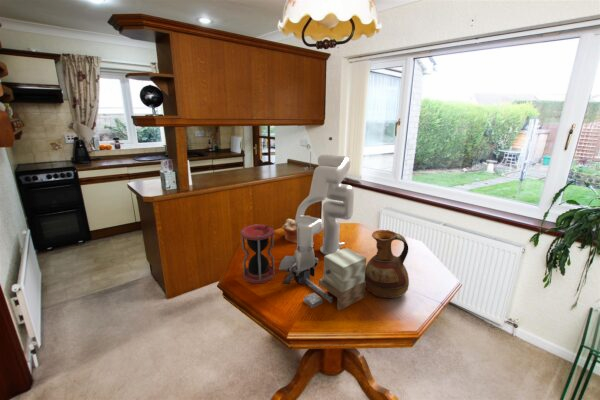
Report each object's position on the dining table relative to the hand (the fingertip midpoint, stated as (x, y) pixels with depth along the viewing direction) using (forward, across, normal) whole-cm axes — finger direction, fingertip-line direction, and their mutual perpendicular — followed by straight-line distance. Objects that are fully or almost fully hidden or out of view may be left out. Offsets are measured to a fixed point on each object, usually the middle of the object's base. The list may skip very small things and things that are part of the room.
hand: (304, 278), depth 143 cm
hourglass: (+2, +15, -19) cm, 24 cm away
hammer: (+2, 0, +9) cm, 9 cm away
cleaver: (+3, 0, -14) cm, 15 cm away
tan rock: (+2, -29, -44) cm, 53 cm away
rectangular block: (+2, +6, +15) cm, 16 cm away
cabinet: (+2, -7, +19) cm, 20 cm away
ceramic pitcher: (+2, -27, +28) cm, 39 cm away
